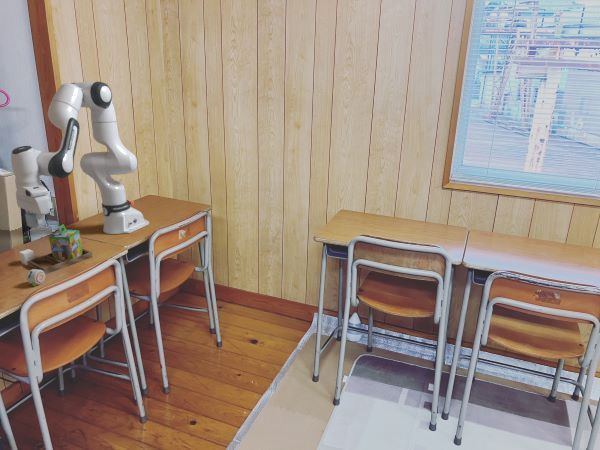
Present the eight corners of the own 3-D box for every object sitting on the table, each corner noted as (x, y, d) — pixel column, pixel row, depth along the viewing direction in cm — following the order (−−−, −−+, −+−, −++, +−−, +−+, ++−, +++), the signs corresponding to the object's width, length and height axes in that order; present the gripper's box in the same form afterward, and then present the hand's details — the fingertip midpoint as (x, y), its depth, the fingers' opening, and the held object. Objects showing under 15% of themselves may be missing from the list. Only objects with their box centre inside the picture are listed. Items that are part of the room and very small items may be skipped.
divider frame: (75, 249, 223) (74, 245, 222) (92, 257, 215) (91, 252, 215) (28, 265, 207) (27, 261, 206) (45, 274, 200) (44, 269, 199)
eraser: (31, 259, 213) (28, 248, 212) (35, 261, 211) (33, 251, 209) (21, 262, 210) (19, 251, 209) (26, 265, 208) (23, 254, 206)
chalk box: (73, 262, 209) (67, 230, 204) (52, 262, 210) (46, 229, 205) (84, 253, 218) (79, 222, 213) (64, 253, 219) (58, 221, 213)
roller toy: (26, 286, 190) (23, 272, 188) (38, 279, 196) (35, 265, 194) (36, 287, 189) (33, 274, 187) (47, 280, 195) (45, 267, 193)
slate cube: (27, 225, 200) (24, 213, 198) (39, 222, 204) (37, 210, 202) (33, 228, 197) (30, 216, 195) (45, 224, 201) (43, 213, 199)
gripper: (9, 185, 199) (15, 218, 203) (33, 194, 187) (40, 228, 192) (25, 182, 204) (31, 214, 208) (50, 190, 192) (56, 224, 196)
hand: (35, 221), depth 200 cm, fingers closed on slate cube, 5 cm apart
